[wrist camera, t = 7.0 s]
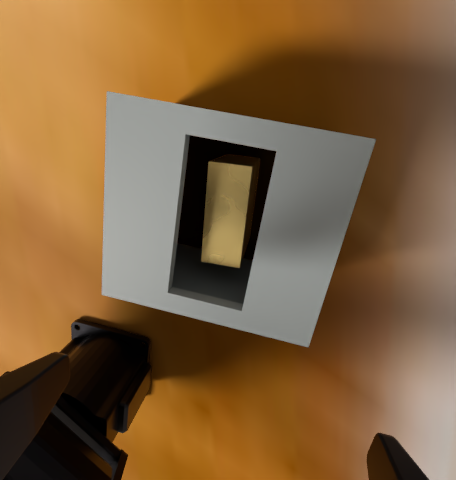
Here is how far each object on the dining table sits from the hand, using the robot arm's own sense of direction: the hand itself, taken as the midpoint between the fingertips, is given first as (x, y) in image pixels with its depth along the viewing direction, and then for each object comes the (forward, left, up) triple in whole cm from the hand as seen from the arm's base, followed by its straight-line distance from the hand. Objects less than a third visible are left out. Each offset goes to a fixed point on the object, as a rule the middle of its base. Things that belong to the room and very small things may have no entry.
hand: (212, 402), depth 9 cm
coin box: (-2, +3, -12) cm, 13 cm away
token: (-2, +3, -12) cm, 13 cm away
